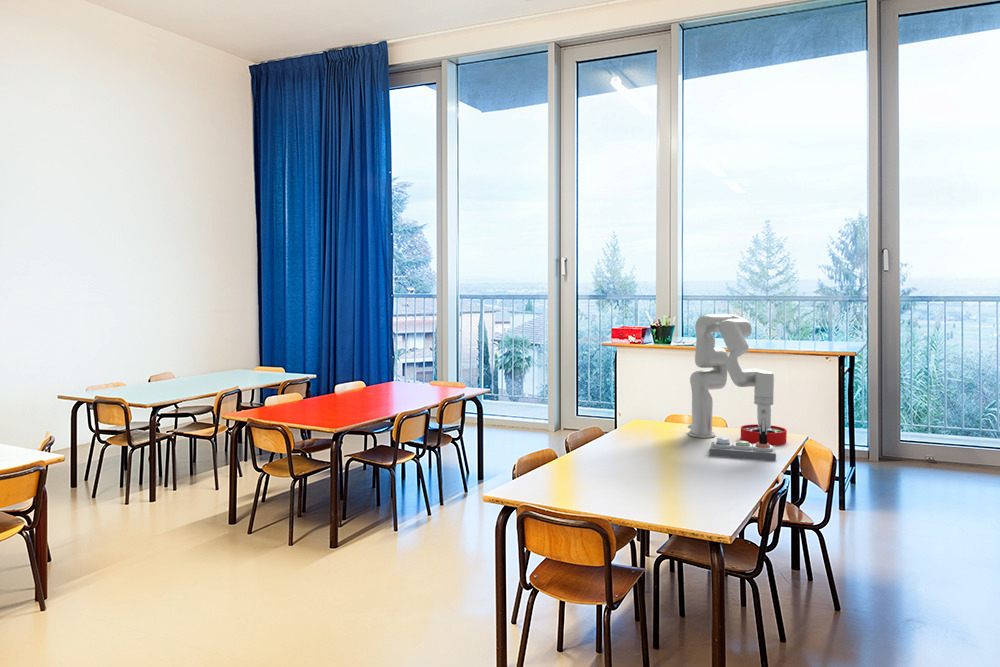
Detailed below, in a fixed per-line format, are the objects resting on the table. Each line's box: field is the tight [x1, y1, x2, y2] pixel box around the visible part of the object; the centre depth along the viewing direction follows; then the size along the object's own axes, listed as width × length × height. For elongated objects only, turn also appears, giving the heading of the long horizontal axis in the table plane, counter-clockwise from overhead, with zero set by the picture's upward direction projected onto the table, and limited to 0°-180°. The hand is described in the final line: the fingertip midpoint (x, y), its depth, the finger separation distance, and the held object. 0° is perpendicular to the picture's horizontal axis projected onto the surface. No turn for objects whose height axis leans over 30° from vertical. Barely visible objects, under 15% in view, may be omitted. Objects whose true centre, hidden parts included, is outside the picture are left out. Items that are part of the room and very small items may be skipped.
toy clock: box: [740, 423, 788, 446], centre depth 317 cm, size 20×6×20 cm
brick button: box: [756, 442, 769, 448], centre depth 287 cm, size 5×5×2 cm
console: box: [709, 440, 777, 462], centre depth 290 cm, size 26×14×4 cm, turn 69°
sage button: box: [736, 440, 749, 447], centre depth 290 cm, size 5×5×2 cm
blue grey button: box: [716, 437, 730, 445], centre depth 293 cm, size 5×5×2 cm
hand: (763, 443), depth 287 cm, fingers closed
